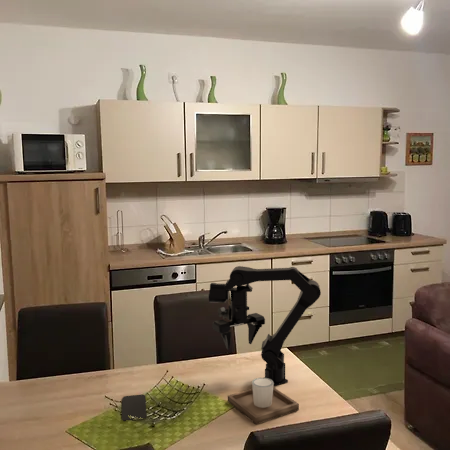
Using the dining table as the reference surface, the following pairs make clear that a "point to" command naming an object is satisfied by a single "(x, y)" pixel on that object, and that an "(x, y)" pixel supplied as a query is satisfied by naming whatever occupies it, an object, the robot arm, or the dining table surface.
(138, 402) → the phone
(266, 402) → the shot glass
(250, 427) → the dining table surface
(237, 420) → the dining table surface
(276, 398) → the walnut tray
